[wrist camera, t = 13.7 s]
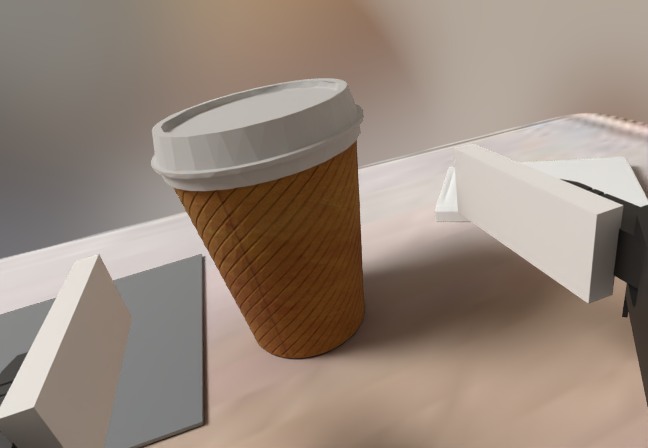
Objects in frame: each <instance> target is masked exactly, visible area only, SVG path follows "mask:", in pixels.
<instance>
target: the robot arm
mask: <svg viewBox="0 0 648 448" xmlns="http://www.w3.org/2000/svg"><path fill="white" fill-rule="evenodd" d="M454 161H455V176H456V191H457V205H458V213H459V214H461V215H462V216H464V217H465V218H466V219H468V220H469V221H471V222H472V223H474V224H475V225H476V226H478V227H479V228H481V229H482V230H484V231H485V232H487V233H488V234H489V235H491V236H492V237H494V238H495V239H497V240H498V241H499V242H501V243H502V244H504V245H505V246H507V247H508V248H509V249H511V250H512V251H514V252H515V253H517V254H518V255H519V256H521V257H522V258H524V259H525V260H527V261H528V262H529V263H531V264H532V265H534V266H535V267H537V268H538V269H539V270H541V271H542V272H544V273H545V274H547V275H548V276H550V277H551V278H552V279H554V280H555V281H557V282H558V283H560V284H561V285H562V286H564V287H565V288H567V289H568V290H570V291H571V292H572V293H574V294H575V295H577V296H578V297H580V298H581V299H582V300H584V301H585V302H587V303H588V304H589V303H592V302H594V301H597V300H599V299H602V298H605V297H607V296H610V295H612V293H613V285H614V277H615V276H616V277H618V278H620V279H621V280H623V281H625V282H626V283H627V286H626V293H625V300H624V307H623V314H622V317H627V316H628V312H629V316H630V321H631V326H632V331H633V336H634V341H635V346H636V351H637V356H638V361H639V366H640V371H641V376H642V381H643V386H644V391H645V396H646V401H647V406H648V205H645V206H642V207H639V206H637V205H634V204H632V203H629V202H627V201H624V200H622V199H619V198H617V197H614V196H612V195H609V194H607V193H606V194H604V192H602V191H599V190H597V189H592V187H589V186H587V185H584V184H582V183H579V182H575V181H570V180H564V179H558V178H556V177H553V176H551V175H548V174H546V173H544V172H541V171H539V170H536V169H534V168H531V167H529V166H527V165H524V164H522V163H519V162H517V161H514V160H512V159H510V158H507V157H505V156H502V155H500V154H497V153H495V152H493V151H490V150H488V149H485V148H483V147H480V146H478V145H476V144H473V143H470V144H466V145H463V146H460V147H456V148H454ZM131 320H132V317H131V315H130V313H129V311H128V309H127V307H126V305H125V303H124V302H123V300H122V298H121V296H120V294H119V292H118V290H117V288H116V286H115V284H114V282H113V280H112V278H111V276H110V274H109V273H108V271H107V269H106V267H105V265H104V263H103V261H102V259H101V257H100V255H99V254H97V255H94V256H90V257H87V258H84V259H80V260H77V261H75V262H74V264H73V266H72V268H71V270H70V272H69V274H68V276H67V278H66V280H65V282H64V284H63V286H62V288H61V290H60V291H59V293H58V295H57V297H56V299H55V301H54V303H53V305H52V307H51V309H50V311H49V313H48V315H47V317H46V319H45V321H44V323H43V324H42V326H41V328H40V330H39V332H38V334H37V336H36V338H35V340H34V342H33V344H32V346H31V348H30V350H29V352H26V353H23V354H20V355H17V356H16V357H15V358H14V359H13V360H12V361H11V362H10V363H9V364H8V365H7V366H6V367H5V369H4V370H3V371H2V372H1V373H0V448H104V444H105V440H106V435H107V431H108V426H109V421H110V417H111V412H112V408H113V403H114V398H115V394H116V389H117V385H118V380H119V375H120V371H121V366H122V362H123V357H124V352H125V348H126V343H127V338H128V334H129V329H130V325H131Z"/></svg>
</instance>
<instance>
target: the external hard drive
mask: <svg viewBox="0 0 648 448" xmlns="http://www.w3.org/2000/svg"><path fill="white" fill-rule="evenodd" d="M519 163H522V164H524V165H527V166H529V167H531V168H534V169H536V170H539V171H541V172H544V173H546V174H548V175H551V176H553V177H556V178H558V179H564V180H570V181H575V182H579V183H582V184H584V185H587V186H589V187H592V189H597V190H599V191H602V192H604V194H606V193H607V194H609V195H612V196H614V197H617V198H619V199H622V200H624V201H627V202H629V203H632V204H634V205H637V206H639V207H642V206H645V205H648V199H647V197H646V195H645V193H644V191H643V189H642V187H641V185H640V183H639V181H638V179H637V177H636V176H635V173H634V171H633V170H632V168H631V166H630V164H629V162H628V160H627V158H626V157H625V156H620V157H602V158H586V159H569V160H551V161H533V162H519ZM435 216H436V222H471V221H469V220H468V219H466V218H465V217H464V216H462V215H461V214H459V213H458V205H457V191H456V176H455V166H450V167H449V168H448V171H447V174H446V177H445V180H444V183H443V186H442V189H441V192H440V195H439V198H438V201H437V204H436V208H435Z"/></svg>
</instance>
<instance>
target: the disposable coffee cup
mask: <svg viewBox="0 0 648 448" xmlns="http://www.w3.org/2000/svg"><path fill="white" fill-rule="evenodd" d="M363 117H364V116H363V110H362V109H361V107H360V106H358V105H356V104H355V102H354V99H353V97H352V94H351V92H350V89H349V87H348V85H347V82H345V81H343V80H339V79H331V78H326V79H324V78H321V79H306V80H297V81H291V82H285V83H279V84H274V85H269V86H264V87H259V88H254V89H250V90H246V91H242V92H238V93H234V94H230V95H227V96H224V97H220V98H216V99H213V100H210V101H207V102H204V103H201V104H198V105H196V106H193V107H190V108H188V109H185V110H183V111H180V112H178V113H175V114H173V115H171V116H169V117H167V118H165V119H164V120H162V121H161V122H159V123H157V124H156V125H155V126H154V127H153V129H152V135H153V142H154V149H155V155H154V156H153V158H152V161H151V165H152V167H153V169H154V170H155V171H156V172H157V173H158V174H160V175H162V176H163V178H164V180H165V182H166V183H167V184H168V185H170V186H172V187H174V189H175V191H176V193H177V194H178V196H179V198H180V200H181V202H182V204H183V206H184V207H185V210H186V212H187V213H188V215H189V217H190V218H191V221H192V223H193V225H194V226H195V228H196V229H197V231H198V234H199V236H200V237H201V239H202V240H203V242H204V245H205V247H206V248H207V250H208V251H209V254H210V256H211V258H212V259H213V261H214V262H215V265H216V267H217V268H218V270H219V271H220V274H221V276H222V278H223V279H224V281H225V283H226V286H227V287H228V289H229V290H230V292H231V294H232V296H233V297H234V299H235V301H236V303H237V305H238V307H239V308H240V310H241V313H242V314H243V316H244V317H245V320H246V322H247V323H248V325H249V327H250V329H251V331H252V332H253V334H254V336H255V339H256V341H257V342H258V344H259V345H260V346H261V347H262V348H263V349H265V350H266V351H267V352H269V353H271V354H273V355H276V356H280V357H286V358H304V357H310V356H315V355H319V354H322V353H324V352H327V351H330V350H332V349H334V348H336V347H337V346H339V345H341V344H342V343H344V342H345V341H346V340H347V339H349V338H350V337H351V336H352V335H353V334H354V333H355V332H356V331H357V330H358V328H359V326H360V324H361V322H362V321H363V317H364V313H365V307H364V291H363V270H362V246H361V224H360V200H359V183H358V163H357V138H358V136H359V134H360V124H361V123H362V121H363Z"/></svg>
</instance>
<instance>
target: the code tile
mask: <svg viewBox="0 0 648 448" xmlns="http://www.w3.org/2000/svg"><path fill="white" fill-rule="evenodd" d="M113 282H114V284H115V286H116V288H117V290H118V292H119V294H120V296H121V298H122V300H123V302H124V303H125V305H126V307H127V309H128V311H129V313H130V315H131V317H132V320H131V325H130V329H129V334H128V338H127V343H126V348H125V352H124V357H123V362H122V366H121V371H120V375H119V380H118V385H117V389H116V394H115V398H114V403H113V408H112V412H111V417H110V421H109V426H108V431H107V435H106V440H105V444H104V448H140V447H142V446H145V445H148V444H151V443H154V442H156V441H159V440H162V439H165V438H168V437H170V436H173V435H176V434H179V433H182V432H184V431H187V430H190V429H193V428H196V427H198V426H201V425H204V390H203V261H202V254H199V255H196V256H193V257H190V258H186V259H183V260H180V261H176V262H173V263H170V264H166V265H163V266H160V267H156V268H153V269H150V270H146V271H143V272H140V273H137V274H133V275H130V276H127V277H123V278H120V279H117V280H113ZM55 299H56V298H54V299H50V300H47V301H44V302H40V303H37V304H34V305H30V306H27V307H24V308H21V309H17V310H14V311H11V312H7V313H4V314H1V315H0V373H1V372H2V371H3V370H4V369H5V367H6V366H7V365H8V364H9V363H10V362H11V361H12V360H13V359H14V358H15V357H16V356H17V355H20V354H23V353H26V352H29V350H30V348H31V346H32V344H33V342H34V340H35V338H36V336H37V334H38V332H39V330H40V328H41V326H42V324H43V323H44V321H45V319H46V317H47V315H48V313H49V311H50V309H51V307H52V305H53V303H54V301H55Z"/></svg>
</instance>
